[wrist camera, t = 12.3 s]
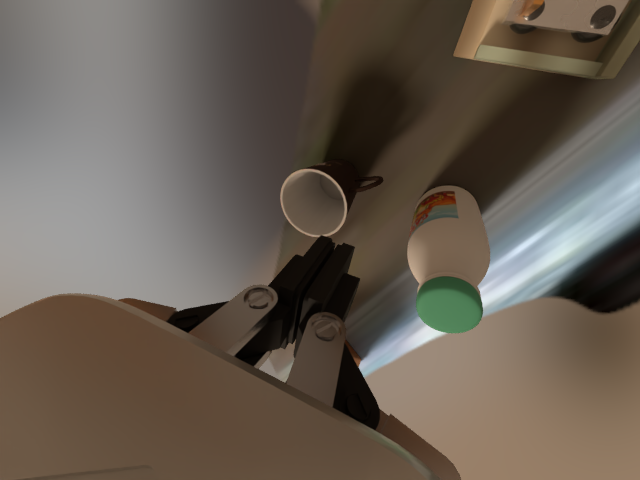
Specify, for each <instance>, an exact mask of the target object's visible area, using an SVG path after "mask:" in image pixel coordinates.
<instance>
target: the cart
mask: <svg viewBox="0 0 640 480" xmlns="http://www.w3.org/2000/svg"><path fill="white" fill-rule="evenodd" d="M628 1H629V0H511V2H510V5H509V7H508V9H507V12H506V14H505V17H504V19H503V21H502V24H501V25H507V26H510V29H511V30H512V31H513V32H514V33H517V34H527V33H530V32H532V31H534V30H536V29H537V28H539V29H547V30H554V31H562V32H570V33H571V36H572V37H573V39H574V40H576V41H577V42H580V43H589V42H593V41H596V40H598V39H600V38H602V37H604V36H606V35H608V34H609V33H610V31H611V30H612V29H613V28H614V27H615V26H616V25H617V23H618V21H619V20H620V18H621V15H622V11H623V9H624V8H625V6H626V5H627V3H628Z"/></svg>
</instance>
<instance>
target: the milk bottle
mask: <svg viewBox="0 0 640 480" xmlns="http://www.w3.org/2000/svg"><path fill="white" fill-rule="evenodd" d="M407 253H408V262H409V266H410V269H411V271H412V273H413V275H414V277H415V278H416V280H417V281H418V282H419V286H418V291H417V299H416V308H417V312H418V315H419V317H420V318H421V319H422V321H423V322H424V323H426V324H427V325H428V326H430V327H431V328H433V329H435V330H438V331H441V332H446V333H462V332H466V331H468V330H471V329H473V328H474V327H475V326H477V325H478V324H479V322H480V320H481V318H482V314H483V307H482V301H481V297H480V291H479V289H478V287H477V286H478V285H479V283H480V282H481V281H482V280H483V278H484V277H485V275H486V272H487V270H488V267H489V263H490V247H489V242H488V238H487V234H486V230H485V227H484V223H483V220H482V217H481V213H480V210H479V207H478V204H477V202H476V200H475V198H474V197H473V196H472V195H471V194H470V193H469V192H468V191H466V190H465V189H463V188H460V187H457V186H450V185H447V186H439V187H436V188H433V189H431V190H429V191H428V192H426V193H425V194H424V195H423V196H422V197H421V198H420V200H419V201H418V203H417V205H416V208H415V212H414V216H413V221H412V226H411V231H410V236H409V242H408V252H407Z"/></svg>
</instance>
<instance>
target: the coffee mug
mask: <svg viewBox="0 0 640 480" xmlns="http://www.w3.org/2000/svg"><path fill="white" fill-rule="evenodd" d="M372 180H375V181H376V182H374V183H372V184H369V185H367V186H363V187H359V182H361V181H372ZM382 182H383V178H382V177H379V176H373V177H364V178H359V176H358V173H357V171H356V169H355V168H354V167H353V166H352V165H351V164H350V163H349V162H347V161H344V160H340V159H335V160H330V161H327V162H324V163H321V164H317V165H314V166H311V167H308V168H304V169H301V170H298V171H296V172H294V173H292V174H291V175H290V176H289V177H288V178H287V179H286V180H285V182H284V184H283V186H282V189H281V194H280V198H281V199H280V200H281V206H282V209H283V212H284V214H285V216H286V218H287V219H288V221H289V222H290V223H291V224H292V225H293V226H294V227H295V228H296V229H297V230H299V231H300V232H302V233H304V234H306V235H309V236H312V237H320V235H323V236H329V235H331V234H333V233H335V232H336V231H338V230H339V229H340V228H341V226H342V225H343V223H344V221H345V219H346V216H347V214H348V212H349V209H350V207H351V205H352V202H353V200H354V197H355V195H356V193H357V192H361V191H365V190H368V189H371V188H373V187H376V186H378V185H380V184H381V183H382Z"/></svg>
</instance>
